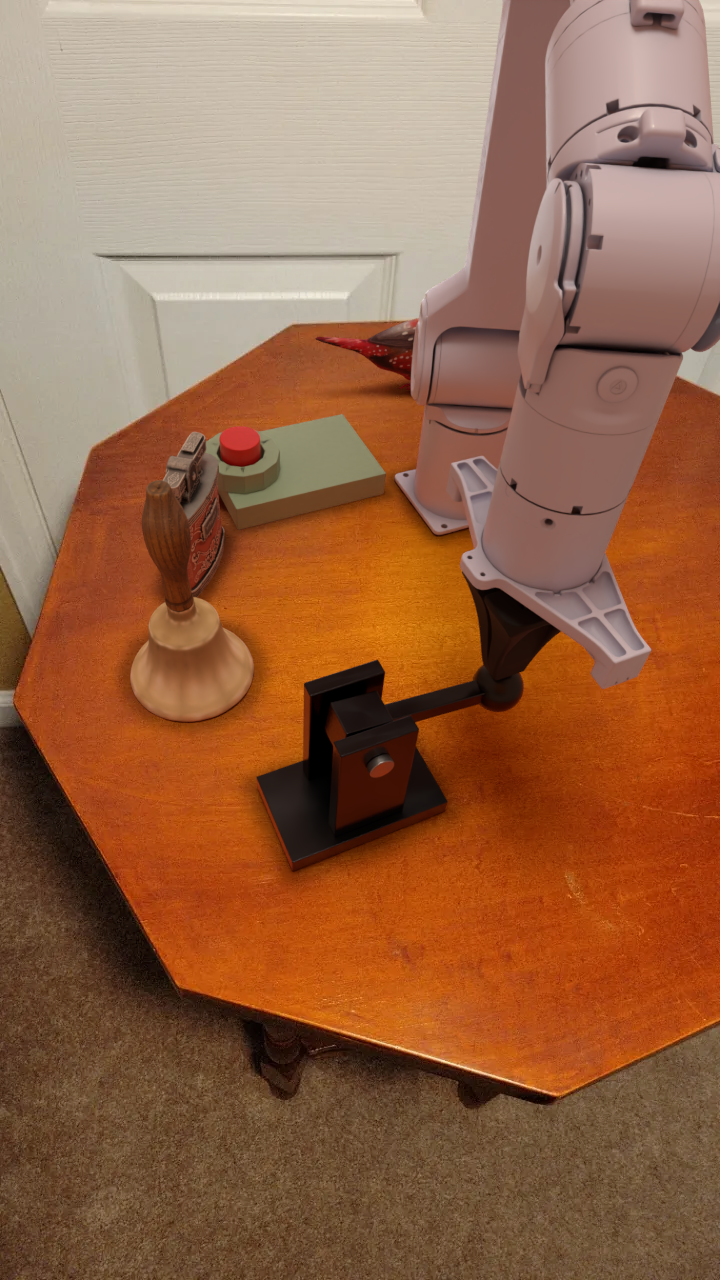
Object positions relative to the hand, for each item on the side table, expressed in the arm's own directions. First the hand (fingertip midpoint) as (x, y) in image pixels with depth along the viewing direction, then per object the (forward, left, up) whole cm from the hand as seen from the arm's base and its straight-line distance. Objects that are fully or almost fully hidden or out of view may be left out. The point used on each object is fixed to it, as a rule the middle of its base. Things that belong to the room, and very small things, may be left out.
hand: (503, 666), depth 45 cm
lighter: (+12, -23, -9) cm, 27 cm away
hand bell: (+15, -13, -9) cm, 22 cm away
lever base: (+9, 0, -9) cm, 13 cm away
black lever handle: (+5, 0, -3) cm, 5 cm away
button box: (+1, -30, -9) cm, 31 cm away
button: (+5, -30, -5) cm, 31 cm away
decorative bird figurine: (-14, -39, -9) cm, 42 cm away
